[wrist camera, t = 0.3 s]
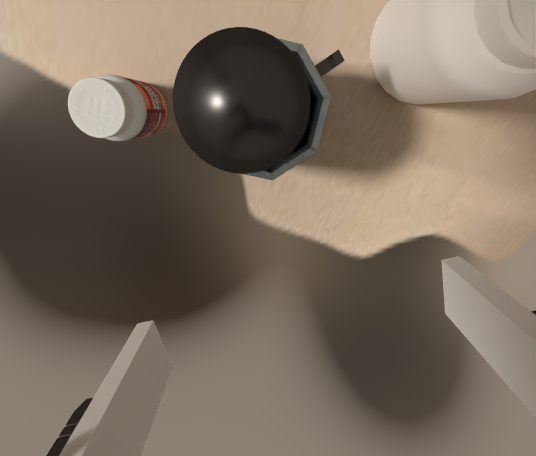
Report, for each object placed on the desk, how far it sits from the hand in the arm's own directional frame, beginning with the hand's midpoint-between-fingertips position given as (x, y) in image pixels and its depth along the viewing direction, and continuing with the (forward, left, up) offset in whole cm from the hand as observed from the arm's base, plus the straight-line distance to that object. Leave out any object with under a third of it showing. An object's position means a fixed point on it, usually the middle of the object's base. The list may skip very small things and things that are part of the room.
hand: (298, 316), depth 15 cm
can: (-5, +22, -30) cm, 38 cm away
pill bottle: (-17, -9, -30) cm, 35 cm away
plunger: (-9, +3, -20) cm, 22 cm away
